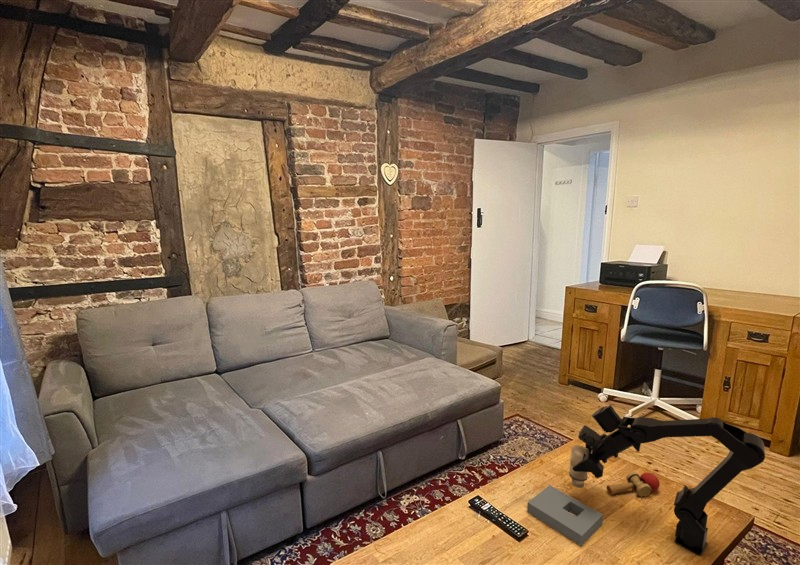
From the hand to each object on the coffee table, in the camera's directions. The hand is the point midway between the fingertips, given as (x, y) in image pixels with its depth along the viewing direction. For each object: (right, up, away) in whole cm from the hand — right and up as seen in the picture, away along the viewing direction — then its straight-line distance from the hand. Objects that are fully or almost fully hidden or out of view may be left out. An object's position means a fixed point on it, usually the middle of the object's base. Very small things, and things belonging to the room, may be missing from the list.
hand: (574, 465), depth 138 cm
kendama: (+22, -12, +6) cm, 26 cm away
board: (-6, -14, -7) cm, 17 cm away
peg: (+1, -7, +1) cm, 7 cm away
